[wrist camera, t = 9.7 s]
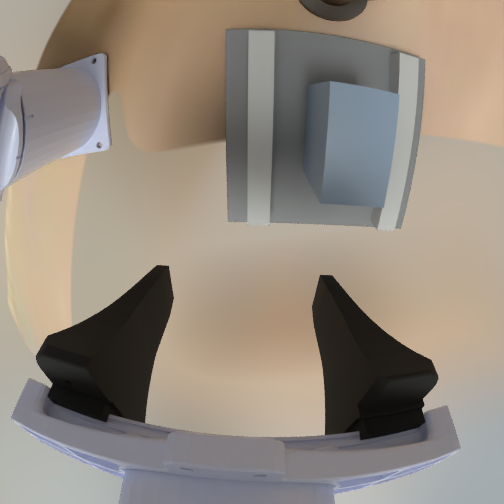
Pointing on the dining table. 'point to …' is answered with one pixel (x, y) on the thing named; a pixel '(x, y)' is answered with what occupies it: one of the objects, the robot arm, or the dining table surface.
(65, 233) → the dining table surface
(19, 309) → the dining table surface
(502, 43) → the dining table surface
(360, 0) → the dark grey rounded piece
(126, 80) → the dining table surface
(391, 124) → the blue-grey block
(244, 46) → the grey railed square plate
